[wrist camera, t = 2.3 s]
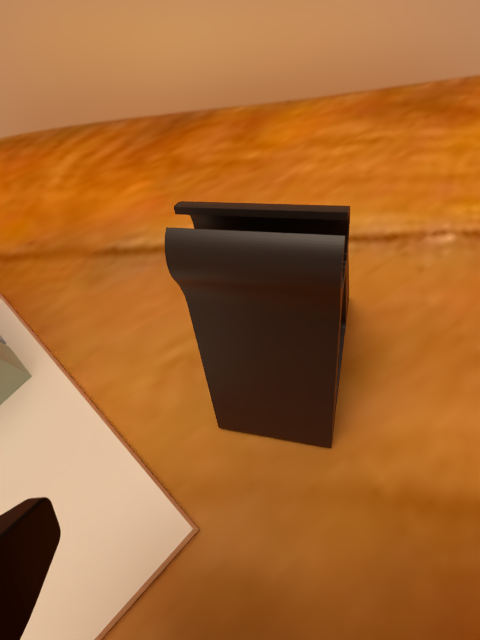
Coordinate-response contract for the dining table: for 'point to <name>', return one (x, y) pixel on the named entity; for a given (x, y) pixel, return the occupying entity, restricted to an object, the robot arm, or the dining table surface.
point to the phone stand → (267, 311)
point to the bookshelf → (79, 492)
